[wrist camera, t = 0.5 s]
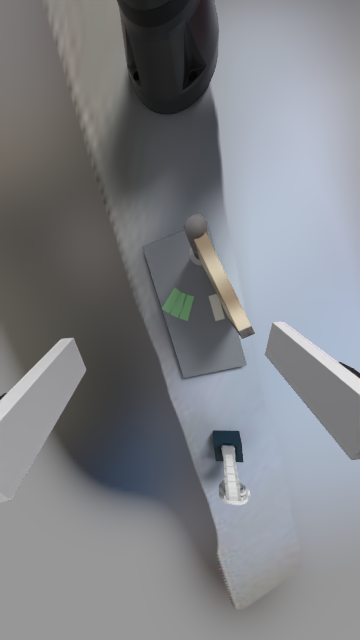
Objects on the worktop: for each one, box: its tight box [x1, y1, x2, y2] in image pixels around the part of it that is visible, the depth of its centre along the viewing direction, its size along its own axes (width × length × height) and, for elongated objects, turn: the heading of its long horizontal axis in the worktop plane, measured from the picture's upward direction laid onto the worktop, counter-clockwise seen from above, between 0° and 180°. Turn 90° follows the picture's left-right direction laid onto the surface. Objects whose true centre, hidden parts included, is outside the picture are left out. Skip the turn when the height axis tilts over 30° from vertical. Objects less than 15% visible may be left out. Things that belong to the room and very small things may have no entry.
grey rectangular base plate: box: [143, 221, 247, 378], centre depth 34 cm, size 28×13×2 cm, turn 17°
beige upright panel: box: [184, 214, 254, 339], centre depth 25 cm, size 15×3×12 cm, turn 27°
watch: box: [213, 431, 250, 505], centre depth 32 cm, size 6×8×11 cm
